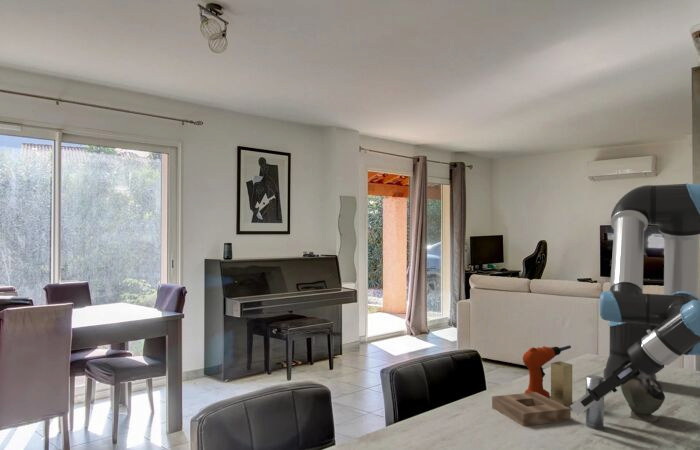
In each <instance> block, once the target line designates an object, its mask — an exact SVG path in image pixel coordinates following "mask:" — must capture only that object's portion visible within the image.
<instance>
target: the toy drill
mask: <svg viewBox="0 0 700 450" xmlns="http://www.w3.org/2000/svg"><path fill="white" fill-rule="evenodd" d="M571 348H572V346H571V345H566V346H562V347H559V346H551V347H549V346H541V347H534V346H533V347H531V348H529V349H528V350H526V352H524V354H523V355H522V362H523V364H524V365H525V367H527V369H528V374H529V383H528V387H527V389H525V391H524V393H532V392H537V393H539V394H541V395H543V396H545V397H547V398H549V399H550V397H551V393H549V391H547V390H546V389H544V384H543V382H544V377H546V372H544V369H543V366H544V365H545V364H547V363H548V362H550V361H551V360H552V359H554V358H555V357H556V356H559V355H560V354H561V352H563V351H566V350H569V349H571Z"/></svg>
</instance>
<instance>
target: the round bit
mask: <svg viewBox="0 0 700 450" xmlns="http://www.w3.org/2000/svg"><path fill="white" fill-rule="evenodd" d="M603 381H605V379H604V377H602V376H600V375H599V376H598V375H586V376H585V394H587V393H588V391H587V389H588V388H589V389H590V390H593V389H594V388H595V387H597V386H598V385H599V384H601V383H602V382H603ZM604 400H605V397H604V396H603V397H602V398H600V400H599V401H597V402H596V403H595V404H593V405H592V406H591V407H589V408H588V409H586V410H585V426H586V427H587V428H590V429H593V430H603V429H604V428H605V425H604V423H605V422H604V421H605V419H604V416H605V414H604V413H605V412H604V411H605V408H604V407H605V406H604V405H605V401H604Z"/></svg>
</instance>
